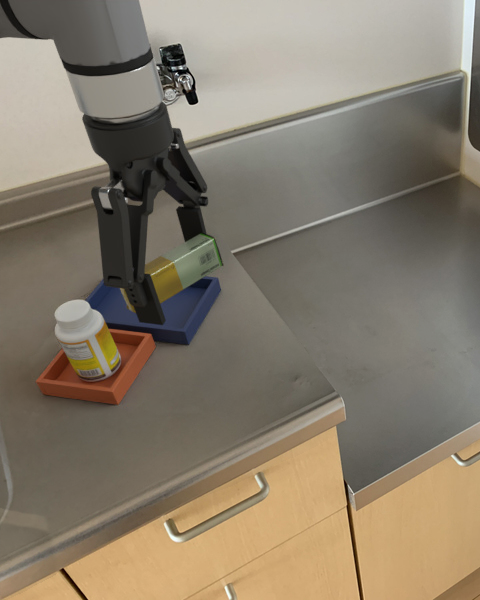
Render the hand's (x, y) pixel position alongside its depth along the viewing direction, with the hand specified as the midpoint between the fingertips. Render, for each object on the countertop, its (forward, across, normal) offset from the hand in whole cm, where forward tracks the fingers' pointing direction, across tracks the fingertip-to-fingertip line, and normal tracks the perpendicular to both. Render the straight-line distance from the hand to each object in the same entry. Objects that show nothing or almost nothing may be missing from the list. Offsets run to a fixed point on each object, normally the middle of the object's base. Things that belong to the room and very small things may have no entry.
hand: (177, 285), depth 71 cm
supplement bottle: (+14, +3, -13) cm, 19 cm away
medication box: (0, 0, 0) cm, 0 cm away
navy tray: (+14, -9, -12) cm, 21 cm away
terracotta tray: (+14, +3, -13) cm, 19 cm away
